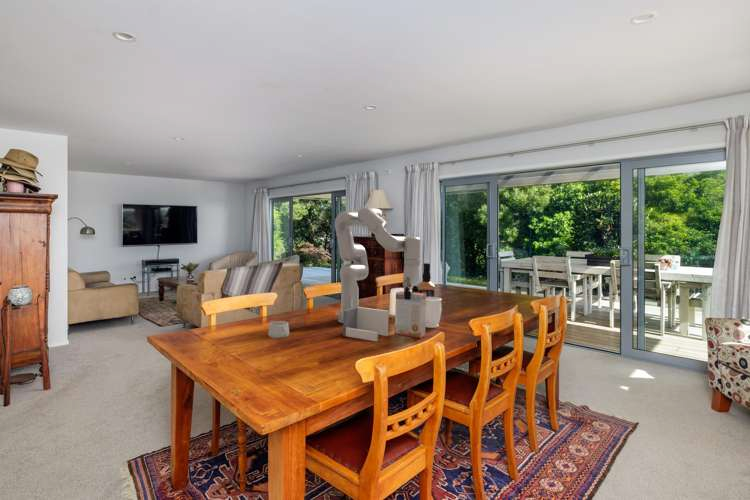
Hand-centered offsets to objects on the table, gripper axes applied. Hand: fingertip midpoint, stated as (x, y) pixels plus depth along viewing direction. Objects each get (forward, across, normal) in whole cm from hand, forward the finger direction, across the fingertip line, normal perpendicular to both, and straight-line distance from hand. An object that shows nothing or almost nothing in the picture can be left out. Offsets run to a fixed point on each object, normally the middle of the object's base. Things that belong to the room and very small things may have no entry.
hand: (411, 297), depth 195 cm
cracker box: (+19, 0, 0) cm, 19 cm away
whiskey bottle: (+18, -35, -5) cm, 40 cm away
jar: (+18, -22, +3) cm, 29 cm away
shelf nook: (+18, +12, -18) cm, 28 cm away
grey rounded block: (+18, +34, -52) cm, 65 cm away
